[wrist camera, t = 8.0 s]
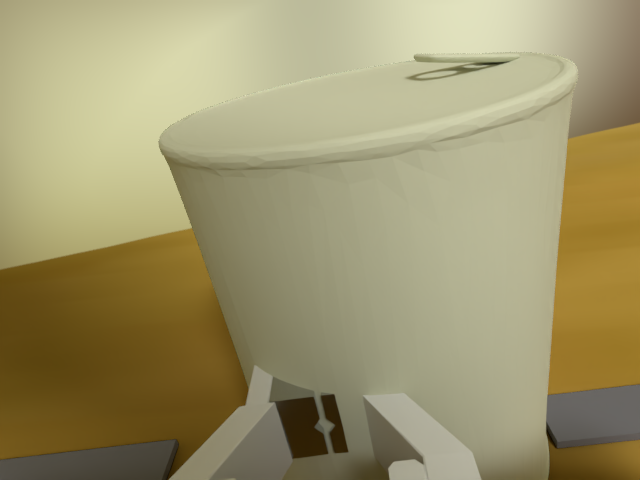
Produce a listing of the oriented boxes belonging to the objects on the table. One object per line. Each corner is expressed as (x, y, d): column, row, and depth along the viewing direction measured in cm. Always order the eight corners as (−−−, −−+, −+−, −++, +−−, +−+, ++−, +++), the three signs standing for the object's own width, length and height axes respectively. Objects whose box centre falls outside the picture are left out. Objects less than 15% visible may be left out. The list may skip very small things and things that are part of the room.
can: (626, 507, 12) (732, 18, 7) (300, 641, 10) (102, 165, 5) (453, 318, 20) (437, 34, 15) (257, 380, 19) (164, 93, 13)
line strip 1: (-51, 513, 16) (-55, 508, 15) (-15, 467, 17) (-19, 462, 17) (162, 490, 15) (159, 484, 15) (178, 444, 16) (176, 439, 16)
